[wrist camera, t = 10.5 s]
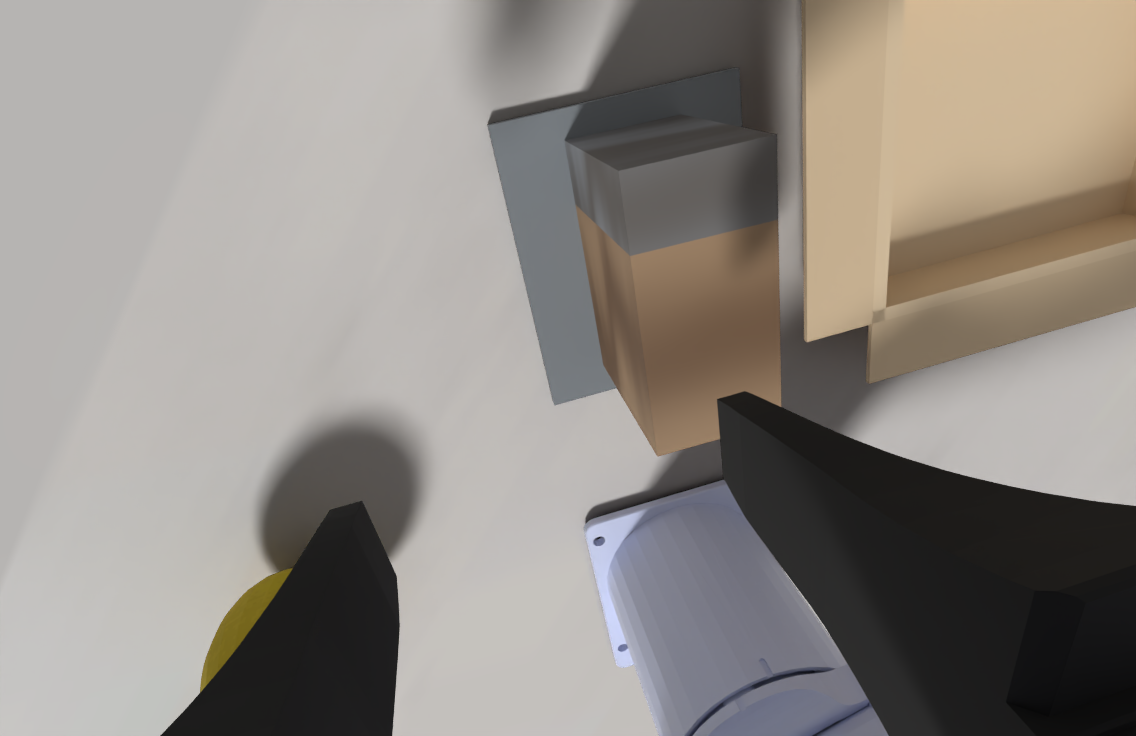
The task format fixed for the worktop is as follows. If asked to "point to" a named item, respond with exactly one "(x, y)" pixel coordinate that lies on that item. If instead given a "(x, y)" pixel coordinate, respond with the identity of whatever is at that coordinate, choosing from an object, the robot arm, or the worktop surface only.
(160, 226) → the worktop surface
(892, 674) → the robot arm
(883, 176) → the carton
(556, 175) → the rubber mat
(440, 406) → the worktop surface
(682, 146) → the walnut box
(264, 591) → the lemon
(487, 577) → the worktop surface
